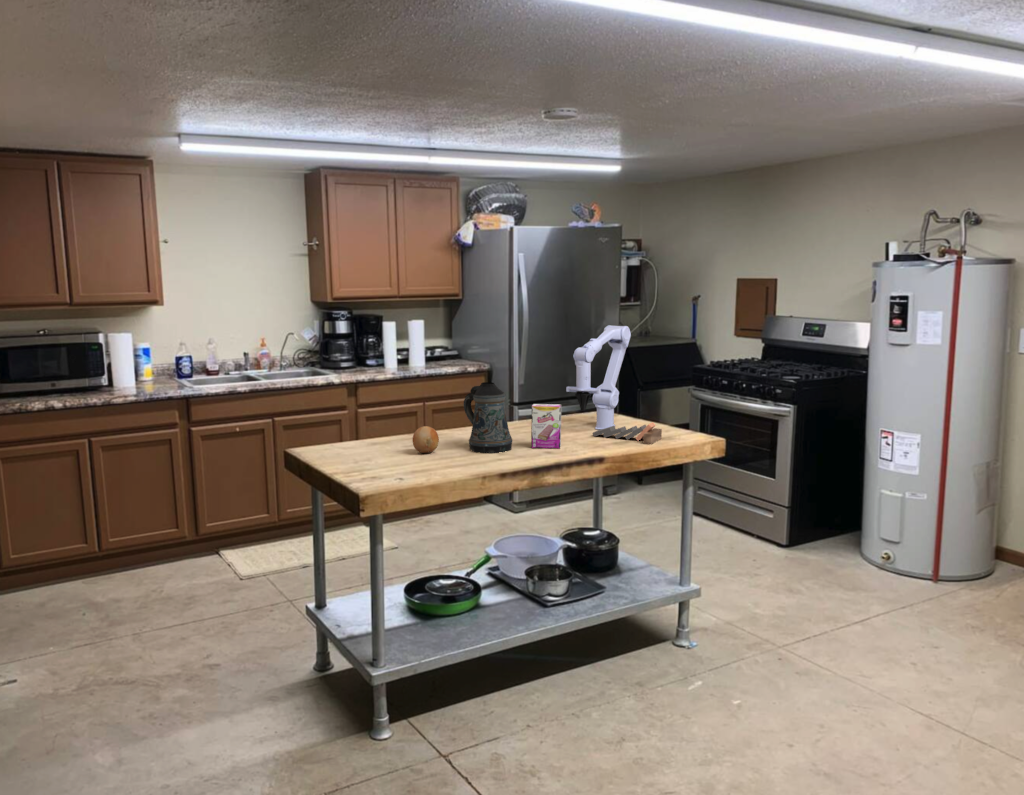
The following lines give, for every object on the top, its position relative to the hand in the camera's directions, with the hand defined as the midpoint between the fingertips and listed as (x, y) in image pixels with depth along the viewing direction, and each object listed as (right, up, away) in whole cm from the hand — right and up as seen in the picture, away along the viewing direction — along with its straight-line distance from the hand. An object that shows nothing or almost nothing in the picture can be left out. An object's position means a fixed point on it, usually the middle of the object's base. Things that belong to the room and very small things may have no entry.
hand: (583, 410), depth 327 cm
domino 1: (+5, -9, -1) cm, 11 cm away
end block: (+26, -12, -13) cm, 31 cm away
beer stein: (-39, -14, -23) cm, 47 cm away
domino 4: (+17, -11, -8) cm, 22 cm away
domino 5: (+21, -11, -10) cm, 26 cm away
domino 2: (+9, -10, -3) cm, 14 cm away
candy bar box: (-16, -14, -22) cm, 31 cm away
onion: (-61, -16, -29) cm, 69 cm away
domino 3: (+13, -10, -6) cm, 18 cm away
